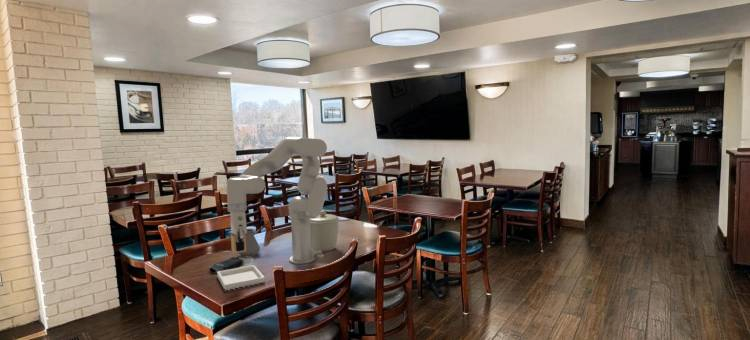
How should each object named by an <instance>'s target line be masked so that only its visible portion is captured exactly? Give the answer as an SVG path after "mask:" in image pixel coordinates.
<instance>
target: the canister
mask: <svg viewBox="0 0 750 340" xmlns="http://www.w3.org/2000/svg"><path fill="white" fill-rule="evenodd" d="M340 219H341V218H340V217H339V216H337V215H336V214H335V215H334V214H330V213H327V211H326V210H324V209H322V211H321V213H320V215H319V216H318V217H316V218H310V221H311V237H312V250H321V253H325V252H326V253H327V252H331V251H333V250H335V248H336V246H337V242H338V241H337V240H338V232H339V221H340Z"/></svg>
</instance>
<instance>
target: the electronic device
mask: <svg viewBox="0 0 750 340" xmlns="http://www.w3.org/2000/svg"><path fill="white" fill-rule="evenodd" d="M244 263H245V259H244V258H240V257H238V256H234V257H233V256H230V258H229V259H225V260H223V261H220V262H217V263H214V264H212V265H210V266H209V273H213V274H217V272H218V271H224V270H229V269H235V268H238V266H240V264H242V265H244ZM214 270H215V271H214ZM213 271H214V272H213Z"/></svg>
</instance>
